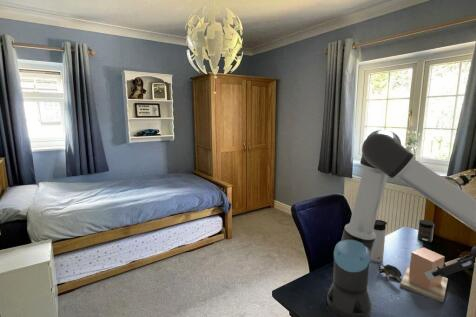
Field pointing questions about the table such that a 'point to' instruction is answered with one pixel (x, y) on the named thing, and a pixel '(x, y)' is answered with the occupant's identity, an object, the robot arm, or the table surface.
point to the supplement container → (425, 231)
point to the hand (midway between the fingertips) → (437, 271)
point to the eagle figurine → (390, 271)
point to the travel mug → (378, 241)
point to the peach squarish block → (425, 267)
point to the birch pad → (433, 293)
